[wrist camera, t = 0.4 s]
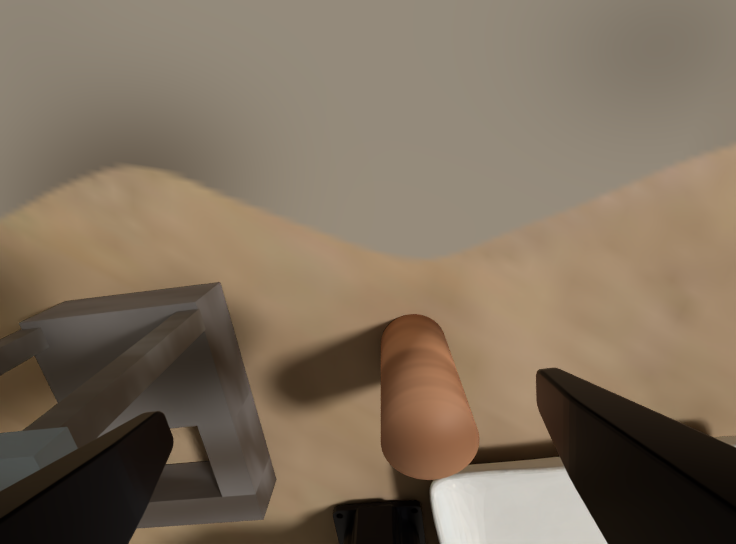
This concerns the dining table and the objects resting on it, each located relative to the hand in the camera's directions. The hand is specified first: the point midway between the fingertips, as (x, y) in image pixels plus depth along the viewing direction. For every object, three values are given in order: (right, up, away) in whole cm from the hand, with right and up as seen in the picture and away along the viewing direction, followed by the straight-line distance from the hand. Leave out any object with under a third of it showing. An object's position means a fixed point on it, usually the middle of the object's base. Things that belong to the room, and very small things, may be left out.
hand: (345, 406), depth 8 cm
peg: (+3, -1, +14) cm, 14 cm away
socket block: (-12, -5, +16) cm, 20 cm away
